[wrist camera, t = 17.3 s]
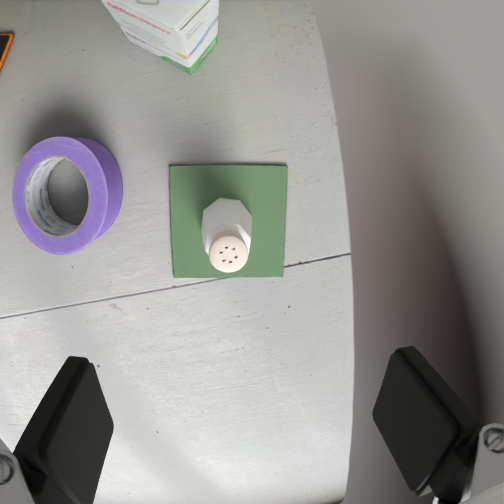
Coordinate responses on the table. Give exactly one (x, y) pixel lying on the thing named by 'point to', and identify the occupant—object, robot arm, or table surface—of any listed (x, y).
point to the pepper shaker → (227, 234)
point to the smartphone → (4, 46)
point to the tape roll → (37, 202)
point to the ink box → (170, 28)
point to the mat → (238, 188)
